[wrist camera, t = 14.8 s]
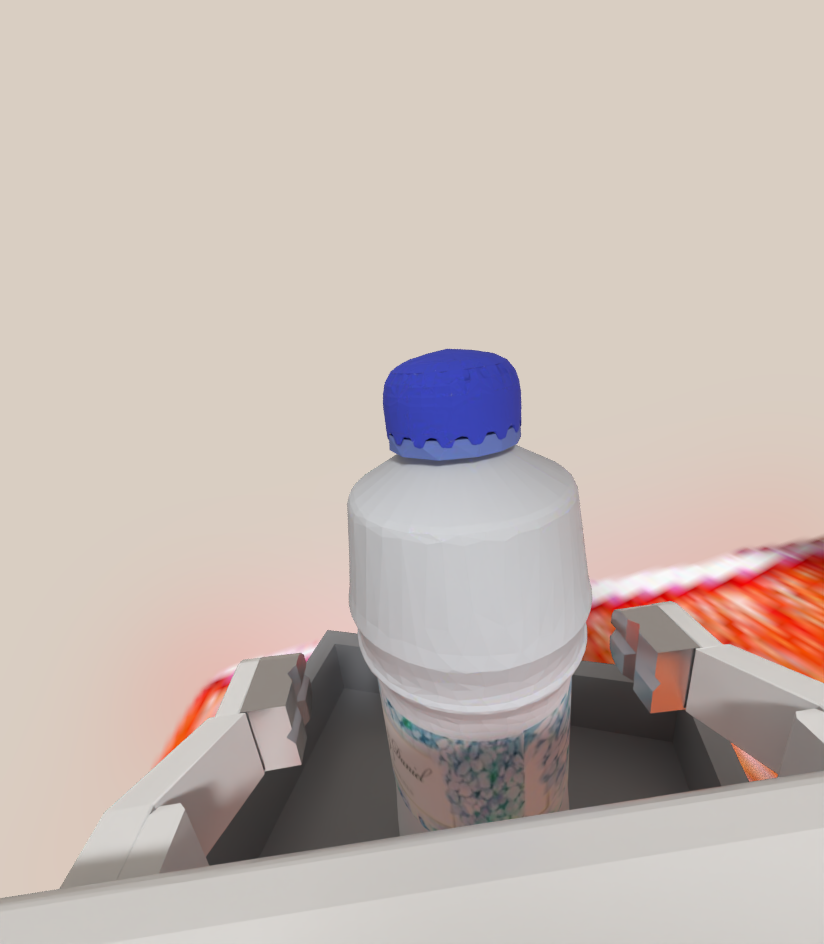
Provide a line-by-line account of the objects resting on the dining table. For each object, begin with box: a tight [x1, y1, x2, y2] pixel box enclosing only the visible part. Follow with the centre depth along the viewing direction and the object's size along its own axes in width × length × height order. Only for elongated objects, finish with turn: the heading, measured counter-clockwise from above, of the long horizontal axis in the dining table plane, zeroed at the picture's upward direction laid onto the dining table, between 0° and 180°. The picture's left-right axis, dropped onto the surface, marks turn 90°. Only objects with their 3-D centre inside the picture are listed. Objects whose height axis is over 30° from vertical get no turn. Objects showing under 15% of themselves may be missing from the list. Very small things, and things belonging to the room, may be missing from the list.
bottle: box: [347, 349, 592, 836], centre depth 13 cm, size 7×7×20 cm
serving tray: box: [206, 630, 749, 866], centre depth 16 cm, size 20×16×4 cm
